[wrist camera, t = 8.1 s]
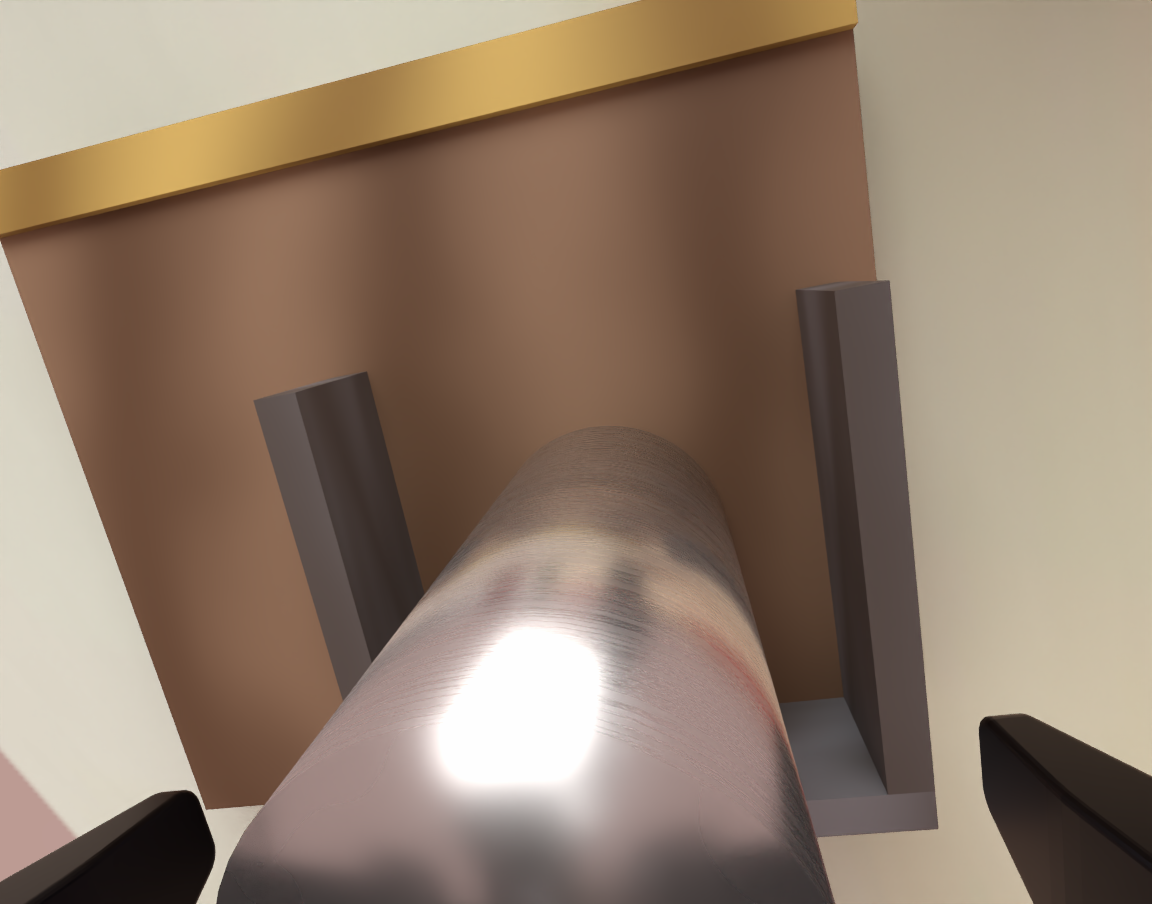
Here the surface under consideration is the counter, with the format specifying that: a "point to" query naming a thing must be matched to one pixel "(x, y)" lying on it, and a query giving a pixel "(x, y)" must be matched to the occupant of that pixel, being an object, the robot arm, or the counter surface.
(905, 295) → the counter surface
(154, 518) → the dock
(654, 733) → the canister
